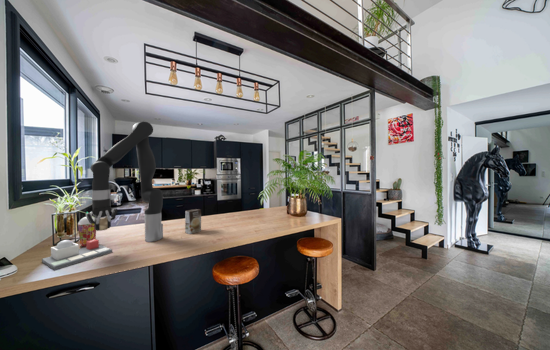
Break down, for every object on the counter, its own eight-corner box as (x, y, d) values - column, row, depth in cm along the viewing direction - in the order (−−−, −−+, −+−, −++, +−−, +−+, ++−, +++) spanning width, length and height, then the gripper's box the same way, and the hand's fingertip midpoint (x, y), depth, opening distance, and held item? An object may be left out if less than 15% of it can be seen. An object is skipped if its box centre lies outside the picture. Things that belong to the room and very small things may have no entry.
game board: (98, 246, 117) (97, 236, 117) (112, 252, 109) (112, 240, 109) (41, 261, 97) (41, 249, 97) (54, 269, 89) (53, 256, 89)
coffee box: (189, 234, 139) (189, 211, 138) (185, 232, 142) (184, 210, 142) (201, 231, 146) (201, 209, 146) (196, 229, 150) (196, 208, 150)
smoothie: (75, 246, 117) (74, 212, 117) (92, 241, 125) (91, 210, 124) (83, 248, 114) (82, 213, 114) (100, 243, 122) (99, 211, 122)
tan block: (105, 227, 111) (105, 217, 111) (109, 228, 109) (108, 218, 109) (96, 229, 107) (96, 219, 107) (100, 231, 105) (99, 220, 105)
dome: (70, 248, 105) (70, 237, 105) (75, 250, 103) (75, 239, 102) (54, 252, 100) (54, 241, 100) (58, 255, 97) (58, 243, 97)
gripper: (113, 196, 115) (115, 224, 116) (81, 199, 103) (82, 232, 104) (120, 196, 112) (121, 226, 113) (87, 200, 99) (89, 234, 100)
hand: (102, 229), depth 108 cm, fingers closed on tan block, 4 cm apart
